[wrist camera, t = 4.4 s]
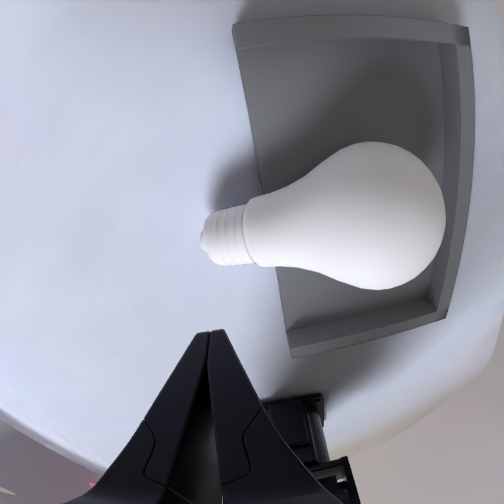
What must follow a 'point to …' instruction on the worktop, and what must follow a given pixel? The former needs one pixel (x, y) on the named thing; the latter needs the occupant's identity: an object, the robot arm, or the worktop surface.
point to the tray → (357, 131)
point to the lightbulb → (340, 220)
